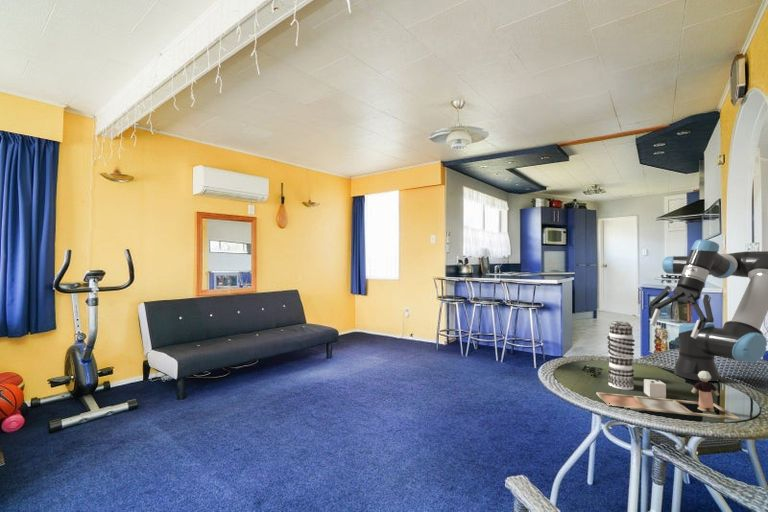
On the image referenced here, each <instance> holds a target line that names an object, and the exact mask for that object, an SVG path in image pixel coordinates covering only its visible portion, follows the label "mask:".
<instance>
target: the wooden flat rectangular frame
mask: <svg viewBox="0 0 768 512" xmlns="http://www.w3.org/2000/svg"><path fill="white" fill-rule="evenodd" d="M596 395H597V396H598V398H599V399H600V400H601V399H602V400H603V401H604V402H605V403H606V404H607V405H612V406H618V407H624V408H623V409H627V408H630V409H629V410H640V411H649V412H656V413H657V412H659V413H666V414H667V413H668V414H678V415H687V416H696V417H707V418H717V419H726V420H727V419H728V420H737V421H740V420H741V419H740V417H738V416H737V415H735V414H733V413H732V412H730V411H729V410H726V409H725V408H724V407H721V406H720V405H718V404H717V403H714V402H713V407H715V408H717V409H718V410H719V411H721V412H723V413H724V414H726V415H723V414H722V415H721V414H710V413H700V412H694V411H692V410H690V409H688V408H687V407H686V406H685V405H683V404H692V405H699V401H694V400H693V401H692V400H682V399H671V398H666V399H664V398H654V397H649V396H642V395H641V396H640V395H632V394H631V395H629V394H628V395H627V394H617V393H610V392H608V393H607V392H597V391H596ZM602 400H601V401H602ZM603 401H602V402H603ZM604 402H603V403H604ZM605 403H604V404H605ZM609 403H610V404H609ZM606 404H605V405H606ZM607 405H606V406H607Z"/></svg>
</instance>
